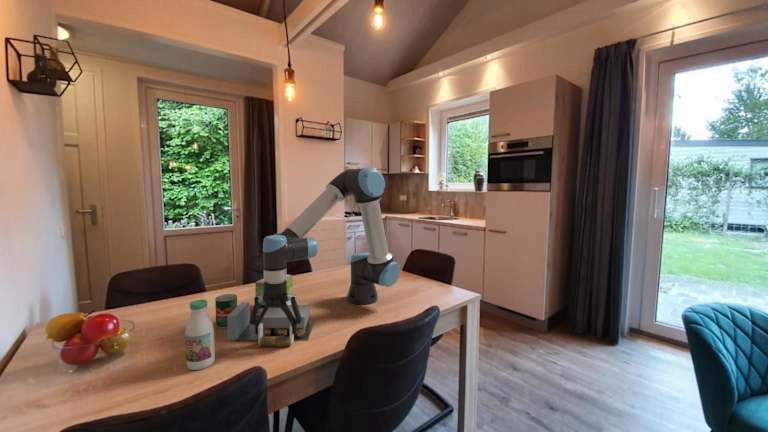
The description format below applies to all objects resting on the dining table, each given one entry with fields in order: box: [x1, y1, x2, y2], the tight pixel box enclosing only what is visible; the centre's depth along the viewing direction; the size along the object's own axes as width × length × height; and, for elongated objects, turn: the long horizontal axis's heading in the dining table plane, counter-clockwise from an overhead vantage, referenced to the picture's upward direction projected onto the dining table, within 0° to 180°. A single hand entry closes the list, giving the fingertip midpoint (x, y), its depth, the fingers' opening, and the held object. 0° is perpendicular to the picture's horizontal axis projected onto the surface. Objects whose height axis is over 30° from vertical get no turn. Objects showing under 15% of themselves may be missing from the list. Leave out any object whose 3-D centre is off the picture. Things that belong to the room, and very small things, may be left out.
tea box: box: [254, 274, 294, 317], centre depth 143 cm, size 15×10×15 cm, turn 168°
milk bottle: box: [184, 299, 216, 371], centre depth 99 cm, size 8×8×20 cm
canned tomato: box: [214, 293, 238, 329], centre depth 128 cm, size 8×8×11 cm
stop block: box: [226, 301, 251, 342], centre depth 122 cm, size 3×14×9 cm, turn 4°
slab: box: [260, 304, 311, 328], centre depth 123 cm, size 16×12×4 cm
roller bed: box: [233, 316, 315, 342], centre depth 123 cm, size 26×15×4 cm, turn 94°
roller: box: [259, 336, 292, 347], centre depth 112 cm, size 10×3×3 cm, turn 94°
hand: (276, 342), depth 113 cm, fingers closed on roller, 10 cm apart
